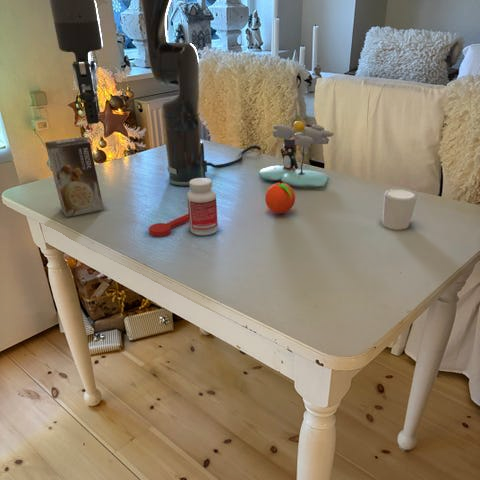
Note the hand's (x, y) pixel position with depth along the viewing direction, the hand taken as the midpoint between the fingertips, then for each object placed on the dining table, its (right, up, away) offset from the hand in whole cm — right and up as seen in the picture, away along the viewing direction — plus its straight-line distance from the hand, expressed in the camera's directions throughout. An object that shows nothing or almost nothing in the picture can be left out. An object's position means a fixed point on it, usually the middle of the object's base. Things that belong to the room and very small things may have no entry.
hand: (94, 118), depth 94 cm
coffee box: (-11, -12, +26) cm, 30 cm away
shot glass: (+62, -18, +15) cm, 67 cm away
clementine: (+38, -14, +22) cm, 45 cm away
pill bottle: (+20, -19, +15) cm, 31 cm away
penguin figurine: (+42, -1, +39) cm, 58 cm away
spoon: (+14, -17, +17) cm, 28 cm away
